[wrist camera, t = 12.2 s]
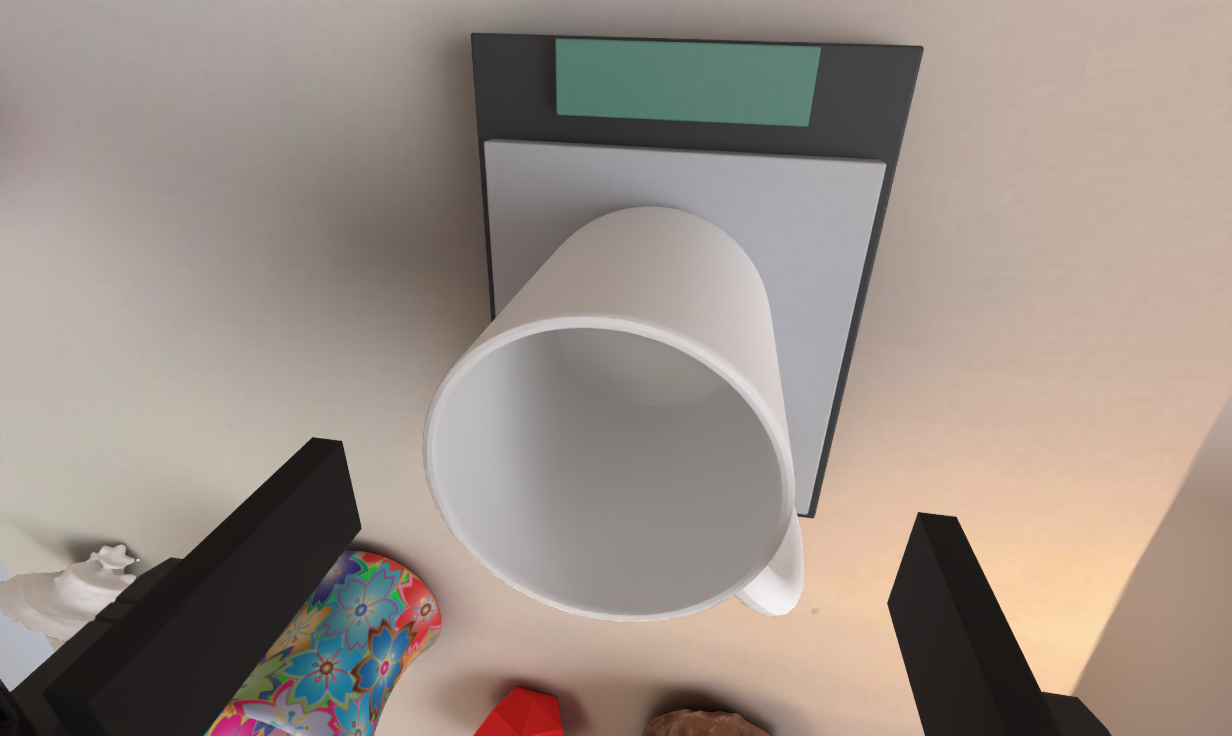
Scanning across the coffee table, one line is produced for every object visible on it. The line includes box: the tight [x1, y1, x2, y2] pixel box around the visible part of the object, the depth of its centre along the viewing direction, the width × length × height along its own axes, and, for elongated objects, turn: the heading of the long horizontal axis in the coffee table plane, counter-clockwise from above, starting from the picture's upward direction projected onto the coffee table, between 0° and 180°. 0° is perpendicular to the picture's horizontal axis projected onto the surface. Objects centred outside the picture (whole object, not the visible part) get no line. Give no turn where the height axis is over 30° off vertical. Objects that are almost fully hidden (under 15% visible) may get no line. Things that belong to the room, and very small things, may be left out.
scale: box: [471, 33, 924, 518], centre depth 24 cm, size 18×14×3 cm
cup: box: [423, 206, 804, 622], centre depth 18 cm, size 8×12×10 cm
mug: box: [204, 551, 441, 736], centre depth 32 cm, size 12×9×11 cm
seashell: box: [0, 545, 140, 640], centre depth 38 cm, size 8×5×8 cm
